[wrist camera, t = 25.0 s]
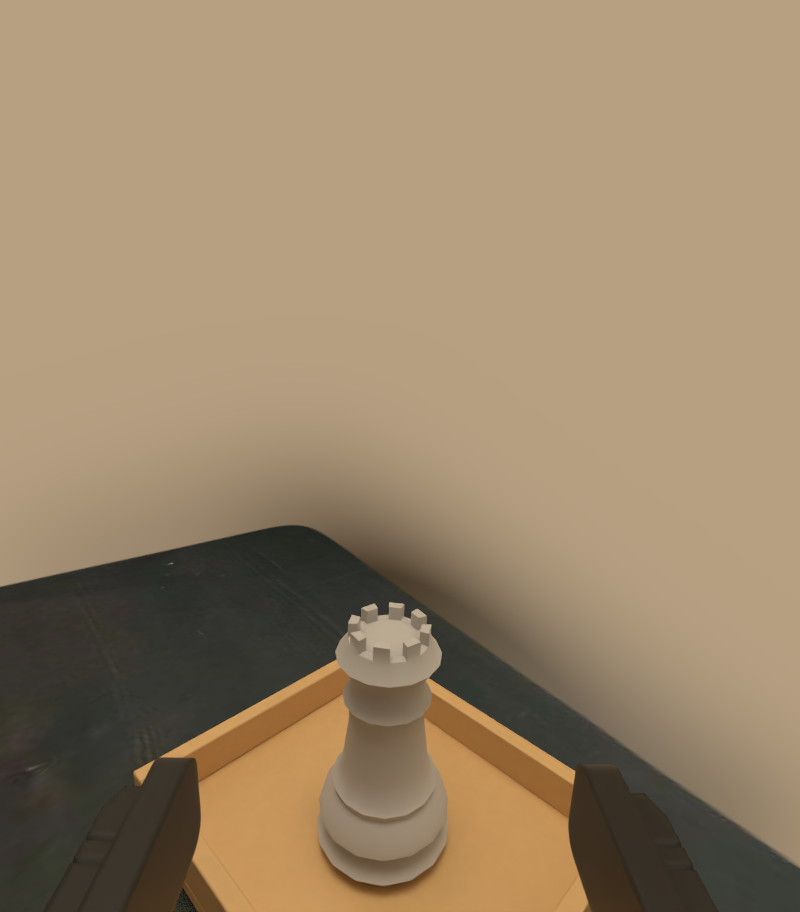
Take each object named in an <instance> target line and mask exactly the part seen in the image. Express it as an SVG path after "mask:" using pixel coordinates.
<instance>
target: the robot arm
mask: <svg viewBox="0 0 800 912" xmlns="http://www.w3.org/2000/svg"><path fill="white" fill-rule="evenodd" d="M200 825H201V808H200V795H199V782H198V770H197V762H196V759H195V758H173V757H158V758H157V759H156V760H155V761H154V762H153V764H152V766H151V768H150V770H149V772H148V773H147V775H146V777H145V779H144V781H143V783H142V785H141V786H125V787H124V788H123V789H122V790H121V791H120V792H119V793H118V794H117V795H116V796H114V797H113V798H112V799H111V800H110V801H109V802H108V803H107V804H106V805H105V806H104V807H103V808H102V809H101V811H100V813H99V815H98V816H97V818H96V820H95V822H94V823H93V825H92V827H91V829H90V830H89V832H88V834H87V837H86V840H85V841H83V843H82V844H81V846H80V848H79V850H78V851H77V853H76V855H75V857H74V861H73V863H72V864H70V866H69V867H68V869H67V871H66V873H65V874H64V876H63V878H62V880H61V881H60V883H59V885H58V887H57V888H56V890H55V892H54V894H53V895H52V897H51V899H50V901H49V902H48V904H47V906H46V908H45V909H44V911H43V912H174V909H175V906H176V903H177V900H178V898H179V895H180V892H181V889H182V886H183V884H184V881H185V878H186V875H187V872H188V870H189V867H190V864H191V861H192V858H193V855H194V853H195V850H196V846H197V842H198V838H199V832H200ZM568 831H569V840H570V846H571V851H572V855H573V858H574V861H575V864H576V867H577V870H578V873H579V876H580V879H581V882H582V885H583V888H584V891H585V894H586V897H587V900H588V903H589V906H590V909H591V912H718V910H717V908H716V907H715V905H714V903H713V901H712V899H711V897H710V895H709V894H708V892H707V890H706V888H705V886H704V884H703V882H702V881H701V879H700V877H699V875H698V873H697V871H694V869H693V864H692V862H691V860H690V858H689V857H688V855H687V853H686V851H685V849H684V848H682V846H681V842H680V840H679V838H678V836H677V834H676V833H675V831H674V829H673V827H672V825H671V823H670V821H669V820H668V818H667V816H666V815H665V814H664V813H663V812H662V811H661V810H660V809H659V808H658V807H657V806H656V805H655V804H654V803H653V802H652V801H651V800H650V799H649V798H648V797H647V796H646V795H645V794H634V793H630V791H629V789H628V787H627V785H626V783H625V781H624V779H623V777H622V775H621V773H620V771H619V769H618V768H617V767H616V766H615V765H606V764H579V765H578V766H577V768H576V771H575V778H574V785H573V792H572V799H571V805H570V812H569V820H568Z"/></svg>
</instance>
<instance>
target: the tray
mask: <svg viewBox="0 0 800 912" xmlns="http://www.w3.org/2000/svg"><path fill="white" fill-rule="evenodd" d="M349 679H350V677H349V676H348V675H347V674H346V673H345V671H344V670H343V669H342V668H341V667H340V666H339V665H338V663H337V660H335V661H333V662H331V663H330V664H328V665H326V666H324V667H322V668H321V669H319V670H317V671H315V672H313V673H312V674H310V675H308V676H306V677H304V678H302V679H301V680H299V681H297V682H295V683H293V684H292V685H290V686H288V687H286V688H284V689H283V690H281V691H279V692H277V693H275V694H273V695H272V696H270V697H268V698H266V699H264V700H263V701H261V702H259V703H257V704H255V705H254V706H252V707H250V708H248V709H246V710H244V711H243V712H241V713H239V714H237V715H235V716H234V717H232V718H230V719H228V720H226V721H225V722H223V723H221V724H219V725H217V726H215V727H214V728H212V729H210V730H208V731H206V732H205V733H203V734H201V735H199V736H197V737H196V738H194V739H192V740H190V741H188V742H186V743H185V744H183V745H181V746H179V747H177V748H176V749H174V750H172V751H170V752H168V753H167V754H165V755H163V756H161V757H173V758H195V759H196V762H197V770H198V782H199V795H200V808H201V825H200V832H199V838H198V842H197V846H196V850H195V853H194V855H193V858H192V861H191V864H190V867H189V870H188V872H187V875H186V878H185V881H184V884H183V886H182V887H183V889H184V890H185V892H186V894H187V895H188V897H189V899H190V900H191V902H192V903H193V905H194V907H195V908H196V910H197V911H198V912H591V909H590V906H589V903H588V900H587V897H586V894H585V891H584V888H583V885H582V882H581V879H580V876H579V873H578V870H577V867H576V864H575V861H574V858H573V855H572V851H571V846H570V840H569V831H568V820H569V812H570V805H571V799H572V792H573V785H574V778H575V771H574V770H572V769H571V768H569V767H567V766H566V765H564V764H563V763H561V762H560V761H558V760H556V759H555V758H553V757H552V756H550V755H549V754H547V753H545V752H544V751H542V750H541V749H539V748H538V747H536V746H534V745H533V744H531V743H530V742H528V741H527V740H525V739H523V738H522V737H520V736H519V735H517V734H515V733H514V732H512V731H511V730H509V729H508V728H506V727H504V726H503V725H501V724H500V723H498V722H497V721H495V720H493V719H492V718H490V717H489V716H487V715H486V714H484V713H482V712H481V711H479V710H478V709H476V708H475V707H473V706H471V705H470V704H468V703H467V702H465V701H464V700H462V699H460V698H459V697H457V696H456V695H454V694H453V693H451V692H449V691H448V690H446V689H445V688H443V687H441V686H440V685H438V684H437V683H435V682H434V681H432V680H430V679H429V678H428V679H427V680H426V681H427V682H428V685H429V687H430V690H431V692H432V698H431V704H430V707H429V708H428V709H427V710H426V711H425V715H424V724H425V733H426V743H427V752H428V753H429V754H430V755H431V757H432V759H433V762H434V765H435V767H436V768H437V769H438V770H439V773H440V775H441V778H442V781H443V784H444V786H445V789H446V793H447V797H448V804H447V816H448V819H449V820H448V831H447V842H446V844H445V846H444V848H443V849H442V851H441V853H440V854H439V856H438V858H437V859H436V861H435V863H434V865H432V866H431V867H429V868H428V869H426V870H425V871H424V872H422V873H421V874H419V875H418V876H416V877H415V878H414V879H412V880H410V881H408V882H404V883H399V884H395V885H390V886H385V887H380V886H375V885H370V884H365V883H360V882H358V881H355V880H354V879H352V878H351V877H349V876H348V875H346V874H345V873H344V872H342V871H341V870H339V869H338V868H336V867H335V866H333V865H332V863H331V862H330V860H329V858H328V857H327V855H326V853H325V851H324V850H323V848H322V846H321V845H320V843H319V834H318V823H317V818H318V815H319V812H320V803H319V797H320V794H321V791H322V788H323V785H324V783H325V780H326V777H327V774H328V772H329V769H330V768H331V767H332V766H333V765H334V764H335V762H336V759H337V756H338V755H339V754H340V753H341V752H342V751H343V749H344V744H345V738H346V732H347V726H348V721H349V709H348V708H347V707H346V706H345V704H344V699H343V690H344V687H345V685H346V682H347V681H348V680H349ZM154 761H155V760H154ZM154 761H152V762H150V763H148V764H147V765H145V766H143V767H141V768H139V769H138V770H136V771H134V783H135V786H141V785H142V783H143V781H144V779H145V777H146V775H147V773H148V772H149V770H150V768H151V766H152V764H153V762H154Z"/></svg>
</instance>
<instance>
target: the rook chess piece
mask: <svg viewBox="0 0 800 912" xmlns="http://www.w3.org/2000/svg"><path fill="white" fill-rule="evenodd" d="M426 622H427V616H426V615H425V614H424V613H422V612H421V611H420V610H418V609H416V610H414V611H413V612H411V619H409V618H406V617H404V604H399V603H391V602H389V615H381V616H378V608H377V606H376V605H375V604H372V605H369V606H366V607H363V608H361V617H359V616H355V615H352V616H351V618H350V620H349V623H348V632H347V633H346V634H345V636H344V637H343V638H342V639H341V640H340V642H339V644H338V647H337V649H336V651H335V652H336V657H337V663H338V665H339V666H340V667H341V668H342V669H343V670H344V671H345V673H346V674H347V675H348V676H349V677H350V679H349V680H348V681H347V682H346V685H345V687H344V690H343V699H344V704H345V706H346V707H347V708H348V709H349V721H348V726H347V732H346V738H345V744H344V749H343V751H342V752H341V753H340V754H339V755H338V756H337V759H336V762H335V764H334V765H333V766H332V767H331V768H330V769H329V772H328V774H327V777H326V780H325V783H324V785H323V788H322V791H321V794H320V797H319V803H320V812H319V815H318V818H317V823H318V834H319V843H320V845H321V846H322V848H323V850H324V851H325V853H326V855H327V857H328V858H329V860H330V862H331V863H332V865H333V866H335V867H336V868H338V869H339V870H341V871H342V872H344V873H345V874H346V875H348V876H349V877H351V878H352V879H354V880H355V881H358V882H360V883H365V884H370V885H375V886H380V887H385V886H390V885H395V884H399V883H404V882H408V881H410V880H412V879H414V878H415V877H416V876H418V875H419V874H421V873H422V872H424V871H425V870H426V869H428V868H429V867H431V866H432V865H434V863H435V861H436V859H437V858H438V856H439V854H440V853H441V851H442V849H443V848H444V846H445V844H446V842H447V831H448V820H449V819H448V816H447V804H448V797H447V793H446V789H445V786H444V784H443V781H442V778H441V775H440V773H439V770H438V769H437V768H436V767H435V765H434V762H433V759H432V757H431V755H430V754H429V753H428V752H427V743H426V733H425V724H424V715H425V711H426V710H427V709H428V708H429V707H430V704H431V698H432V692H431V690H430V687H429V685H428V682H427V681H426V680H427V679H428V678H429V677H430V676H431V675H432V674H433V672H434V671H435V670H436V669H437V668H438V667H439V666H440V662H441V655H442V652H441V650H440V648H439V646H438V644H437V641H436V640H435V639H434V638H433V636H432V635H431V625H426Z"/></svg>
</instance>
